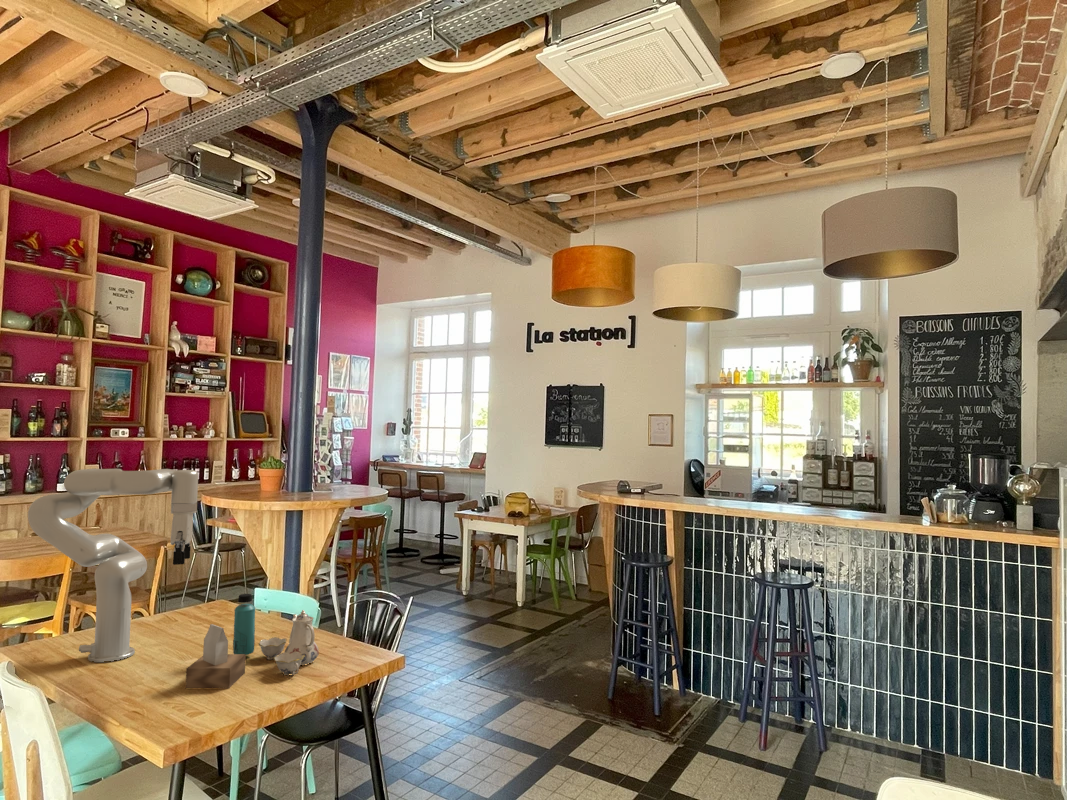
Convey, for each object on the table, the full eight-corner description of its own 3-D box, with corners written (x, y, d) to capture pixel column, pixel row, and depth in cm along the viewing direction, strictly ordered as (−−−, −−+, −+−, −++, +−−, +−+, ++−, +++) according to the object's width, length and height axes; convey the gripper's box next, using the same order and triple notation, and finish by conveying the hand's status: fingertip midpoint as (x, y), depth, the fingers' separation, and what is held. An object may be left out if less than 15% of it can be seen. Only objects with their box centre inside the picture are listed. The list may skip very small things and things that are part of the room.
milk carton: (214, 665, 189) (216, 629, 190) (202, 660, 193) (204, 625, 194) (227, 661, 192) (228, 626, 193) (215, 656, 196) (216, 622, 197)
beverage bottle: (258, 655, 214) (261, 593, 215) (243, 661, 208) (246, 597, 209) (242, 652, 217) (245, 591, 218) (227, 659, 210) (229, 595, 211)
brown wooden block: (185, 690, 186) (186, 668, 186) (203, 674, 198) (204, 654, 198) (229, 689, 187) (230, 668, 187) (244, 674, 199) (245, 654, 199)
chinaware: (250, 662, 213) (246, 611, 212) (300, 646, 224) (297, 598, 223) (284, 688, 192) (280, 631, 192) (337, 669, 203) (334, 615, 203)
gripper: (176, 505, 221) (174, 557, 220) (165, 511, 205) (162, 567, 204) (201, 505, 224) (199, 556, 223) (192, 511, 207) (189, 566, 206)
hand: (181, 561), depth 213 cm, fingers open, 9 cm apart
